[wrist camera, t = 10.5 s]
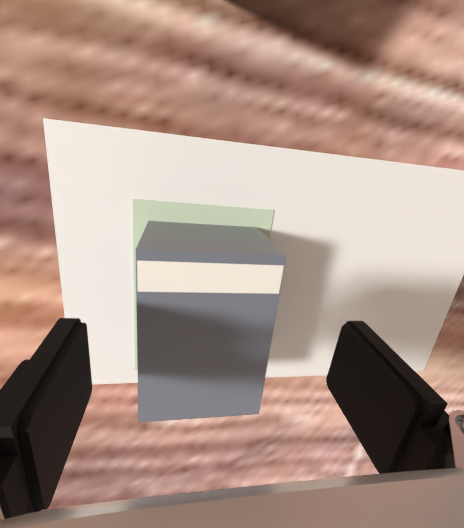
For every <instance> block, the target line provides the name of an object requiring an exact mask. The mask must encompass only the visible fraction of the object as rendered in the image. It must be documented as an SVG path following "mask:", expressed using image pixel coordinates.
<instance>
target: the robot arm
mask: <svg viewBox="0 0 464 528" xmlns="http://www.w3.org/2000/svg"><path fill="white" fill-rule="evenodd" d="M326 381H327V386H328V388H329V390H330V392H331V393H332V395H333V397H334V398H335V400H336V402H337V403H338V405H339V407H340V408H341V410H342V412H343V414H344V415H345V417H346V419H347V420H348V422H349V424H350V425H351V427H352V429H353V430H354V432H355V434H356V435H357V437H358V439H359V441H360V442H361V444H362V446H363V447H364V449H365V451H366V452H367V454H368V456H369V457H370V459H371V461H372V463H373V464H374V466H375V468H376V469H377V471H378V472H379V473H380V474H373V475H362V476H351V477H340V478H330V479H319V480H309V481H299V482H289V483H279V484H269V485H259V486H249V487H239V488H229V489H219V490H210V491H200V492H191V493H181V494H172V495H162V496H153V497H143V498H134V499H126V500H118V501H110V502H101V503H93V504H85V505H77V506H69V507H62V508H57V509H51V510H45V511H41V510H43V509H47V508H48V507H49V505H50V503H51V501H52V498H53V495H54V493H55V490H56V487H57V485H58V482H59V479H60V476H61V474H62V471H63V468H64V466H65V463H66V460H67V458H68V455H69V452H70V450H71V447H72V444H73V442H74V439H75V436H76V434H77V431H78V428H79V426H80V423H81V420H82V417H83V415H84V412H85V409H86V407H87V404H88V401H89V399H90V396H91V392H92V377H91V366H90V355H89V344H88V333H87V324H86V323H81V320H80V319H79V318H60V319H59V320H58V321H57V322H56V324H55V325H54V327H53V328H52V329H51V331H50V332H49V334H48V335H47V336H46V338H45V339H44V341H43V342H42V343H41V345H40V346H39V347H38V349H37V350H36V352H35V353H34V354H33V356H32V357H31V359H30V360H24V361H22V362H21V363H20V365H19V366H18V367H17V368H16V370H15V371H14V372H13V374H12V375H11V376H10V378H9V379H8V380H7V382H6V383H5V384H4V386H3V387H2V388H1V390H0V528H464V411H461V410H456V411H452V412H451V413H450V414H449V415H448V414H447V413H446V412H445V411H444V410H445V408H446V406H447V404H448V403H447V402H445V401H444V400H443V399H442V398H441V397H440V396H439V395H438V394H437V393H436V392H435V391H434V390H433V389H432V388H431V387H430V386H429V385H428V384H427V383H426V382H425V381H424V380H423V379H422V378H421V377H420V376H419V375H418V374H417V373H416V372H415V371H414V370H413V369H412V368H411V367H410V366H409V365H408V364H407V363H406V362H405V361H404V360H403V359H402V358H401V357H400V356H399V355H398V354H397V353H396V352H395V351H394V350H393V349H392V348H391V347H390V346H389V345H388V344H387V343H386V342H385V341H383V340H382V339H381V338H380V337H379V336H378V335H377V334H376V333H375V332H374V331H373V330H372V329H371V328H370V327H369V326H368V325H367V324H366V323H365V322H364V321H347V322H346V323H345V324H344V325H343V326H342V327H341V330H340V334H339V337H338V341H337V344H336V347H335V351H334V354H333V358H332V361H331V364H330V368H329V371H328V375H327V379H326Z"/></svg>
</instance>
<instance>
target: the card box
mask: <svg viewBox="0 0 464 528" xmlns="http://www.w3.org/2000/svg"><path fill="white" fill-rule="evenodd" d="M285 262H286V255H285V254H284V253H283V252H282V251H281V250H280V249H279V248H278V247H277V246H276V245H275V244H274V243H273V242H272V241H271V240H270V239H269V238H268V237H267V236H266V235H265V234H264V233H263V232H261V231H260V230H259V229H258V228H257V227H244V226H227V225H211V224H194V223H177V222H161V221H148V223H147V225H146V227H145V230H144V232H143V234H142V236H141V238H140V241H139V243H138V245H137V247H136V307H137V366H138V422H151V421H165V420H180V419H194V418H209V417H223V416H237V415H252V414H259V410H260V404H261V399H262V393H263V387H264V382H265V376H266V370H267V365H268V359H269V353H270V347H271V342H272V336H273V330H274V325H275V319H276V313H277V307H278V302H279V296H280V290H281V285H282V279H283V273H284V267H285Z"/></svg>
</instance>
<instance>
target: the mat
mask: <svg viewBox="0 0 464 528" xmlns="http://www.w3.org/2000/svg"><path fill="white" fill-rule="evenodd" d="M43 122H44V131H45V141H46V150H47V159H48V168H49V177H50V186H51V196H52V205H53V214H54V223H55V232H56V241H57V251H58V260H59V269H60V278H61V287H62V296H63V306H64V315H65V318H79V319H80V320H81V323H86V324H87V333H88V344H89V355H90V366H91V377H92V384H114V383H138V366H137V307H136V247H137V245H138V243H139V241H140V238H141V236H142V234H143V232H144V230H145V227H146V225H147V223H148V221H161V222H177V223H194V224H211V225H227V226H244V227H257V228H258V229H259V230H260V231H261V232H263V233H264V234H265V235H266V236H267V237H268V238H269V239H270V240H271V241H272V242H273V243H274V244H275V245H276V246H277V247H278V248H279V249H280V250H281V251H282V252H283V253H284V254H285V255H286V262H285V267H284V273H283V279H282V285H281V290H280V296H279V302H278V307H277V313H276V319H275V325H274V330H273V336H272V342H271V347H270V353H269V359H268V365H267V370H266V376H265V378H266V377H291V376H316V375H328V371H329V368H330V364H331V361H332V358H333V354H334V351H335V347H336V344H337V341H338V337H339V334H340V330H341V327H342V326H343V325H344V324H345V323H346V322H347V321H364V322H365V323H366V324H367V325H368V326H369V327H370V328H371V329H372V330H373V331H374V332H375V333H376V334H377V335H378V336H379V337H380V338H381V339H382V340H383V341H385V342H386V343H387V344H388V345H389V346H390V347H391V348H392V349H393V350H394V351H395V352H396V353H397V354H398V355H399V356H400V357H401V358H402V359H403V360H404V361H405V362H406V363H407V364H408V365H409V366H410V367H411V368H412V369H413V370H414V371H415V372H417V371H424V369H425V366H426V364H427V362H428V359H429V357H430V354H431V352H432V350H433V347H434V345H435V342H436V340H437V338H438V335H439V333H440V330H441V328H442V326H443V323H444V321H445V318H446V316H447V314H448V311H449V309H450V306H451V304H452V301H453V299H454V297H455V294H456V292H457V289H458V287H459V285H460V282H461V280H462V277H463V275H464V170H455V169H447V168H439V167H431V166H423V165H415V164H407V163H399V162H391V161H383V160H375V159H367V158H359V157H351V156H343V155H335V154H327V153H319V152H310V151H302V150H294V149H286V148H278V147H270V146H262V145H254V144H246V143H238V142H230V141H222V140H214V139H206V138H198V137H190V136H182V135H174V134H165V133H157V132H149V131H141V130H133V129H125V128H117V127H109V126H101V125H93V124H85V123H77V122H69V121H61V120H53V119H45V118H43Z"/></svg>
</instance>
